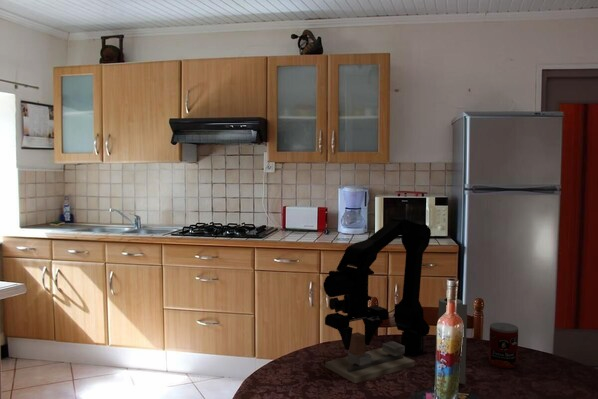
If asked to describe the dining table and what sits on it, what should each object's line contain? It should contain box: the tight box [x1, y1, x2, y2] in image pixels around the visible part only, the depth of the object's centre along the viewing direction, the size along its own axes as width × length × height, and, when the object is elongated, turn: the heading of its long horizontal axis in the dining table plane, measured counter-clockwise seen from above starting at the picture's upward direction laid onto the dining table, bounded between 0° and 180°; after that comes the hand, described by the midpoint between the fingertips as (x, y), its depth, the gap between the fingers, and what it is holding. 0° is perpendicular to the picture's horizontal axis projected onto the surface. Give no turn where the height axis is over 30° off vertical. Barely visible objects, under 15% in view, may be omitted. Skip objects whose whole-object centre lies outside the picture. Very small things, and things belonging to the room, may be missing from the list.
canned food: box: [488, 322, 519, 369], centre depth 146 cm, size 8×8×11 cm
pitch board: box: [324, 340, 416, 384], centre depth 143 cm, size 22×13×5 cm, turn 124°
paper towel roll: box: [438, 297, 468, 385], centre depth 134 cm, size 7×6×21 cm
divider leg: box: [347, 332, 371, 366], centre depth 139 cm, size 4×5×8 cm
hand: (357, 347), depth 140 cm, fingers open, 7 cm apart
